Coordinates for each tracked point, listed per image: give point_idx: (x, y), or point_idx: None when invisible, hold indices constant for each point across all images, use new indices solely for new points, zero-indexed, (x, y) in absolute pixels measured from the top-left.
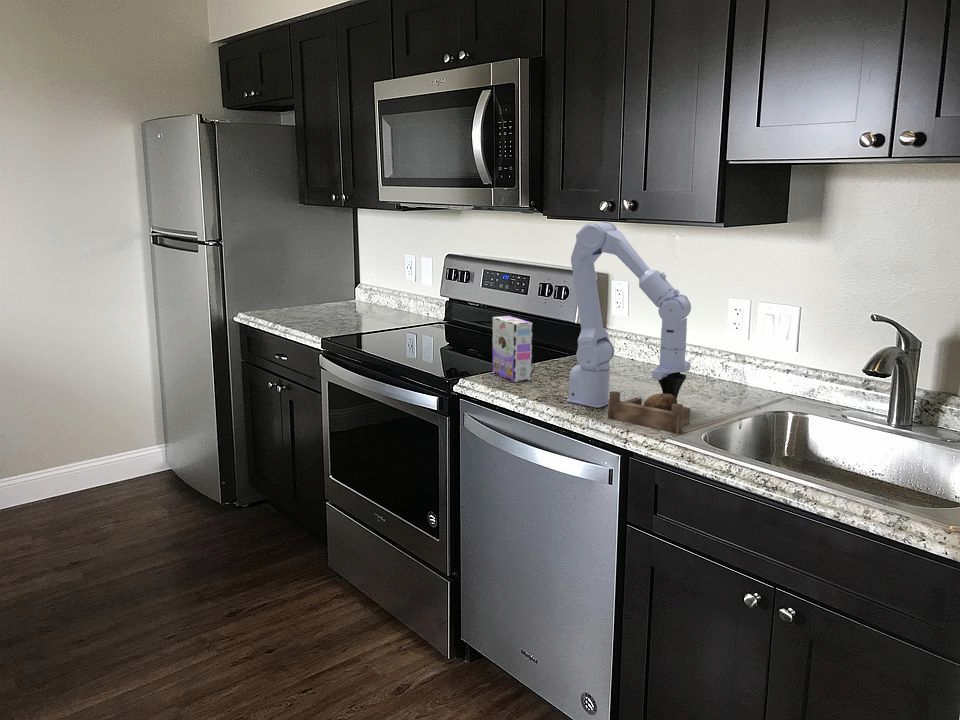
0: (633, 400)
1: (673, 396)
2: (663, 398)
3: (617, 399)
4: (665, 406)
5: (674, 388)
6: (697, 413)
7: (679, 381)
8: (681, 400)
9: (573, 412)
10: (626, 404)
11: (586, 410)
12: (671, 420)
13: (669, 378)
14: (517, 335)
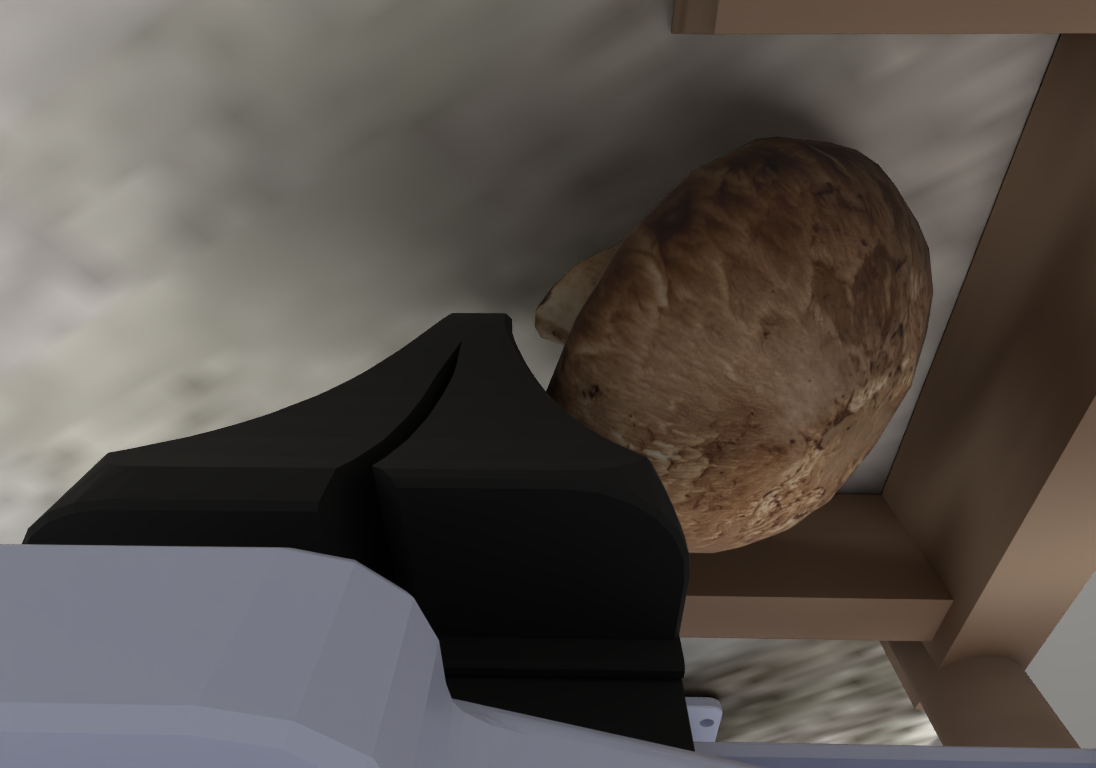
0: (767, 611)
1: (721, 290)
2: (866, 368)
3: (1031, 686)
4: (920, 251)
5: (561, 410)
6: (213, 91)
7: (455, 447)
8: (6, 445)
9: (882, 732)
10: (1079, 582)
11: (795, 712)
12: None
13: (679, 647)
14: None
